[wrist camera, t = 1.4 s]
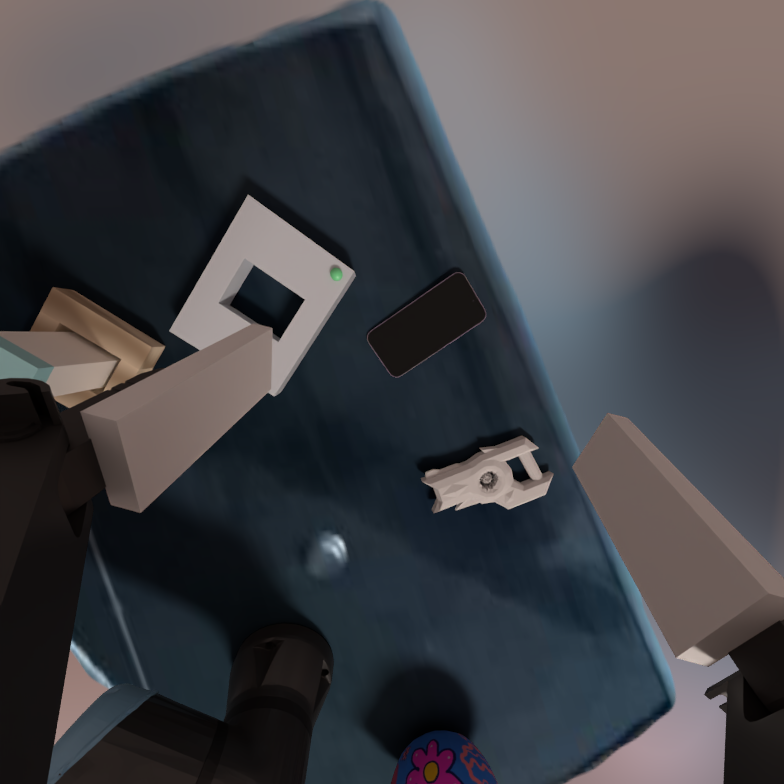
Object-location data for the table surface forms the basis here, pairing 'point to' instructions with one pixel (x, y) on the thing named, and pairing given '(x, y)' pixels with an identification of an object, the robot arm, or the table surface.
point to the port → (282, 262)
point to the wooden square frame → (98, 337)
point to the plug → (56, 360)
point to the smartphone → (427, 325)
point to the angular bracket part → (489, 478)
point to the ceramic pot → (442, 761)
